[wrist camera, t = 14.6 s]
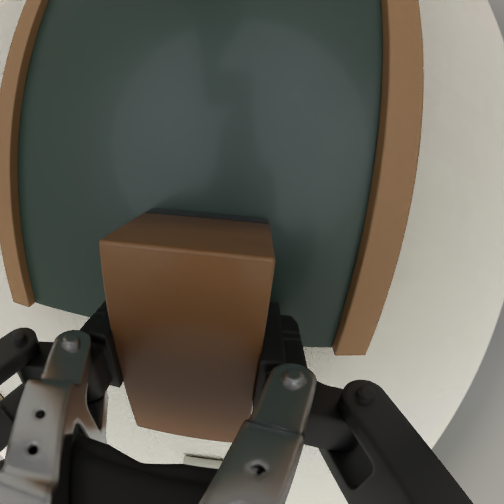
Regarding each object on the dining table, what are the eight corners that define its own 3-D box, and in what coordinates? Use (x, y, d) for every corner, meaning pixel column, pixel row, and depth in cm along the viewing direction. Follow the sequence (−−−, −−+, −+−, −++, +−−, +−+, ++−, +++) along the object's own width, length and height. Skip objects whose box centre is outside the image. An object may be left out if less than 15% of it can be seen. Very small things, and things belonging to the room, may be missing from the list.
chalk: (183, 457, 18) (182, 471, 17) (257, 464, 18) (255, 479, 17) (186, 454, 19) (185, 468, 18) (255, 461, 19) (254, 475, 18)
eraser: (150, 207, 10) (97, 239, 6) (269, 218, 10) (276, 258, 6) (160, 366, 13) (136, 426, 9) (248, 378, 13) (245, 444, 9)
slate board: (75, -57, 5) (62, -67, 3) (389, -63, 5) (399, -77, 4) (29, 288, 13) (13, 302, 11) (355, 333, 13) (365, 355, 12)
